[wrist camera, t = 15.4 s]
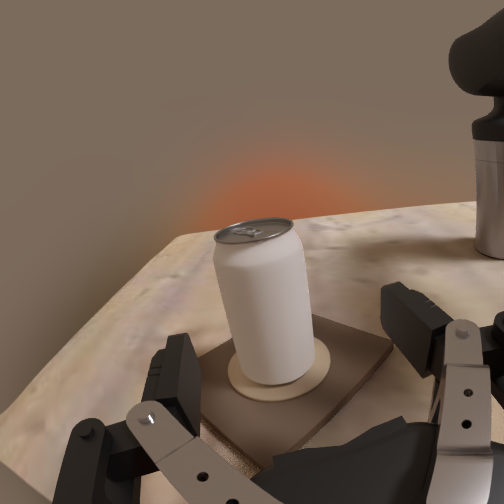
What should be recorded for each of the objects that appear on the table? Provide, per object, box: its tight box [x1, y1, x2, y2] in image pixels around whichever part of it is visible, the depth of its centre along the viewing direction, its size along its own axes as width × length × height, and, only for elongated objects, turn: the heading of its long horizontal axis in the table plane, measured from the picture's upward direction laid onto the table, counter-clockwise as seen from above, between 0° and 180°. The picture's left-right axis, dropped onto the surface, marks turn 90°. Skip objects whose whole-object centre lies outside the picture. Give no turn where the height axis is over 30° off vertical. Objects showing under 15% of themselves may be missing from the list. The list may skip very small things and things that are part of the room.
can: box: [213, 217, 315, 385], centre depth 23 cm, size 6×6×12 cm
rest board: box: [198, 314, 394, 470], centre depth 25 cm, size 16×14×1 cm
